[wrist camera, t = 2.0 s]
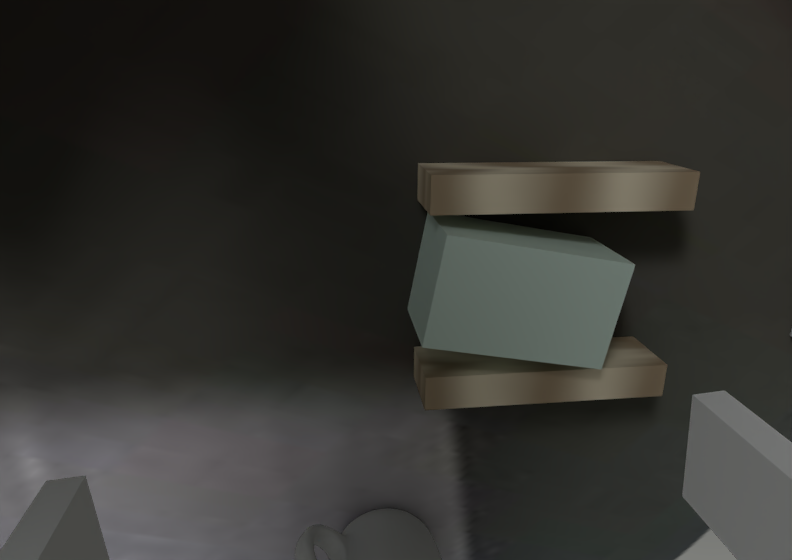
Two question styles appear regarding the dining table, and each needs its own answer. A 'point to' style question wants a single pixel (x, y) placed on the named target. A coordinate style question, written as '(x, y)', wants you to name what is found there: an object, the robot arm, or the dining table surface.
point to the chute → (545, 193)
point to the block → (516, 292)
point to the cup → (372, 539)
